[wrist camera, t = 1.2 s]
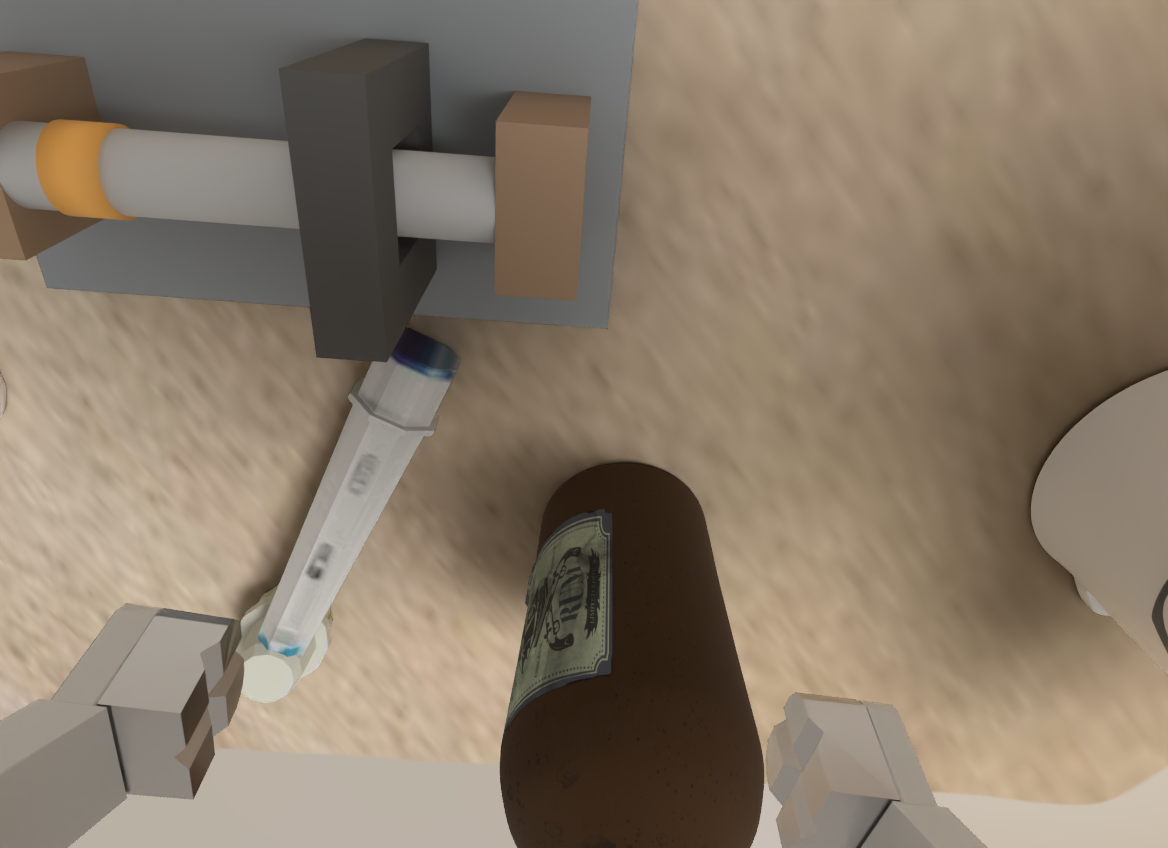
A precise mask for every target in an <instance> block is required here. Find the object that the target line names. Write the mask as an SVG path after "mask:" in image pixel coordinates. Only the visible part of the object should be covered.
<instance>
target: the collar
mask: <svg viewBox="0 0 1168 848" xmlns="http://www.w3.org/2000/svg"><path fill="white" fill-rule="evenodd" d="M278 70H279V77H280V85H281V92H282V100H283V107H284V115H285V123H286V130H287V138H288V145H289V153H290V160H291V168H292V175H293V183H294V190H295V198H296V206H297V213H298V221H299V228H300V236H301V243H302V251H303V258H304V266H305V273H306V281H307V289H308V296H309V304H310V311H311V319H312V326H313V334H314V341H315V349H316V357H319V358H333V359H347V360H361V361H375V362H387V361H388V360H389V358H390V356H391V354H392V352H393V350H394V348H395V347H396V345H397V343H398V341H399V339H400V337H401V335H402V333H403V332H404V330H405V328H406V326H407V324H408V322H409V320H410V319H411V317H412V315H413V313H414V311H415V309H416V307H417V305H418V304H419V302H420V300H421V298H422V296H423V294H424V292H425V291H426V289H427V287H428V285H429V283H430V281H431V279H432V278H433V276H434V274H435V272H436V270H437V259H436V239H428V238H415V237H401V236H398V235H397V219H396V203H395V187H394V172H393V156H392V149H397V150H410V151H423V152H433V148H432V120H431V92H430V65H429V43H417V42H405V41H392V40H379V39H367V38H365V39H362V40H359V41H357V42H354V43H351V44H348V45H345V46H342V47H339V48H336V49H334V50H331V51H328V52H325V53H322V54H319V55H316V56H313V57H310V58H308V59H305V60H302V61H299V62H296V63H293V64H290V65H287V66H285V67H282V68H279V69H278Z"/></svg>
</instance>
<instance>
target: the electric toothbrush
mask: <svg viewBox="0 0 1168 848" xmlns="http://www.w3.org/2000/svg"><path fill="white" fill-rule="evenodd" d="M459 362H460V358H459V357H458V356H457V355H456V354H455V353H454V352H452V351H451V350H450V349H449V348H448V347H447V346H445V345H443V344H441V343H439V342H437V341H435V340H433V339H431V338H429V337H426V336H424V335H422V334H420V333H418V332H416V331H414V330H412V329H410V328H405V330H404V332H403V333H402V335H401V337H400V339H399V341H398V343H397V345H396V347H395V348H394V350H393V352H392V354H391V356H390V358H389V360H388V361H387V362H375V361H372V363H371V366H370V368H369V370H368V372H367V374H366V377H365V379H358V381H357V382H356V384H355V385H354V387H353V389H352V390H351V392H350V394H349V396H348V399H349V401H350V402H351V403H352V404H353V406H352V408H351V411H350V413H349V415H348V418H347V420H346V423H345V425H344V428H343V430H342V432H341V435H340V437H339V440H338V442H337V445H336V447H335V449H334V452H333V454H332V457H331V459H330V462H329V464H328V466H327V469H326V471H325V474H324V476H323V479H322V481H321V483H320V486H319V488H318V491H317V493H316V496H315V498H314V500H313V503H312V505H311V508H310V510H309V513H308V515H307V517H306V520H305V522H304V525H303V527H302V530H301V532H300V534H299V537H298V539H297V542H296V544H295V547H294V549H293V551H292V554H291V556H290V559H289V561H288V564H287V566H286V568H285V571H284V573H283V576H282V578H281V581H280V583H279V584H278V585H277V586H276V587H274V588H273V589H272V590H270V591H269V592H267V593H266V594H265V593H263V595H262V597H261V598H260V600H259V602H258V603H257V604H255V605H254V606H253V607H251V608H250V609H248V610H247V611H246V613H245V615H244V617H243V619H242V621H241V623H240V624H241V632H242V639H241V641H240V643H239V645H238V647H237V649H236V651H237V652H238V653H239V654H240V655H241V656H242V658H243V659H244V679H243V687H242V690H241V692H242V693H243V694H244V695H245V696H246V697H247V698H248V699H251V700H254V701H257V702H260V703H266V702H275V701H277V700H279V699H280V698H282V697H283V696H285V695H287V694H288V693H289V692H291V691H292V690H293V689H294V688H295V687H296V685H297V683H298V681H299V680H300V679H301V678H303V677H305V676H306V675H308V674H309V673H311V672H312V671H314V670H315V669H317V668H318V667H319V665H320V663H321V661H322V659H323V658H324V656H325V654H326V652H327V650H328V648H329V645H330V642H331V636H330V626H331V623H332V621H333V619H332V618H331V610H330V605H331V603H332V602H333V600H334V598H335V596H336V594H337V593H338V591H339V589H340V587H341V585H342V583H343V582H344V580H345V578H346V576H347V574H348V573H349V571H350V569H351V567H352V565H353V563H354V562H355V560H356V558H357V556H358V554H359V553H360V551H361V549H362V547H363V545H364V544H365V542H366V540H367V538H368V536H369V534H370V533H371V531H372V529H373V527H374V525H375V524H376V522H377V520H378V518H379V516H380V515H381V513H382V511H383V509H384V507H385V505H386V504H387V502H388V500H389V498H390V496H391V495H392V493H393V491H394V489H395V487H396V485H397V484H398V482H399V480H400V478H401V476H402V475H403V473H404V471H405V469H406V467H407V466H408V464H409V462H410V460H411V458H412V456H413V455H414V453H415V451H416V449H417V447H418V446H419V444H420V442H421V440H422V438H423V436H432V435H433V433H434V431H435V428H436V425H437V421H438V418H439V415H438V413H437V412H436V411H437V409H438V407H439V405H440V403H441V401H442V399H443V397H444V395H445V393H446V391H447V389H448V387H449V385H450V383H451V381H452V379H453V377H454V375H455V374H456V372H457V369H458V366H459Z"/></svg>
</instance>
